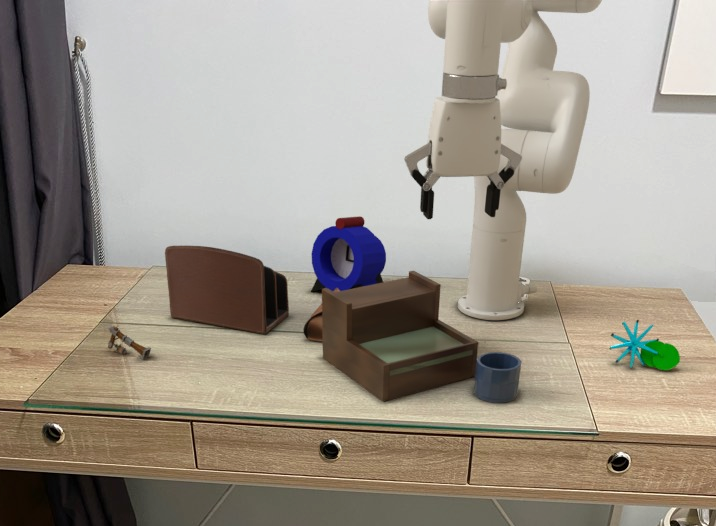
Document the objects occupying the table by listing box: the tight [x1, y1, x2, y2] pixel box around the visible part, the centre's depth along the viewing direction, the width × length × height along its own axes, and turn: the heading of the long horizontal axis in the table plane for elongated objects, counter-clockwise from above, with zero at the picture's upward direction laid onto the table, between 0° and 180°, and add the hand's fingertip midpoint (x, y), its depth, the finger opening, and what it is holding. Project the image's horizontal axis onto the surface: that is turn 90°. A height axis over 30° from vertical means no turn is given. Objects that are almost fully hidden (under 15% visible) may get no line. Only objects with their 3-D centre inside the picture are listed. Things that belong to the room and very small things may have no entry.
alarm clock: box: [310, 216, 387, 293], centre depth 169 cm, size 12×12×15 cm
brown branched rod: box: [107, 325, 152, 360], centre depth 147 cm, size 2×8×4 cm, turn 66°
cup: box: [473, 351, 523, 404], centre depth 135 cm, size 7×7×6 cm
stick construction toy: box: [608, 319, 681, 371], centre depth 146 cm, size 12×7×8 cm
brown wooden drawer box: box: [321, 270, 479, 402], centre depth 141 cm, size 19×18×12 cm
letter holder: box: [164, 245, 290, 335], centre depth 157 cm, size 10×20×14 cm, turn 68°
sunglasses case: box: [303, 288, 340, 343], centre depth 158 cm, size 18×7×7 cm
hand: (458, 215), depth 129 cm, fingers open, 9 cm apart
